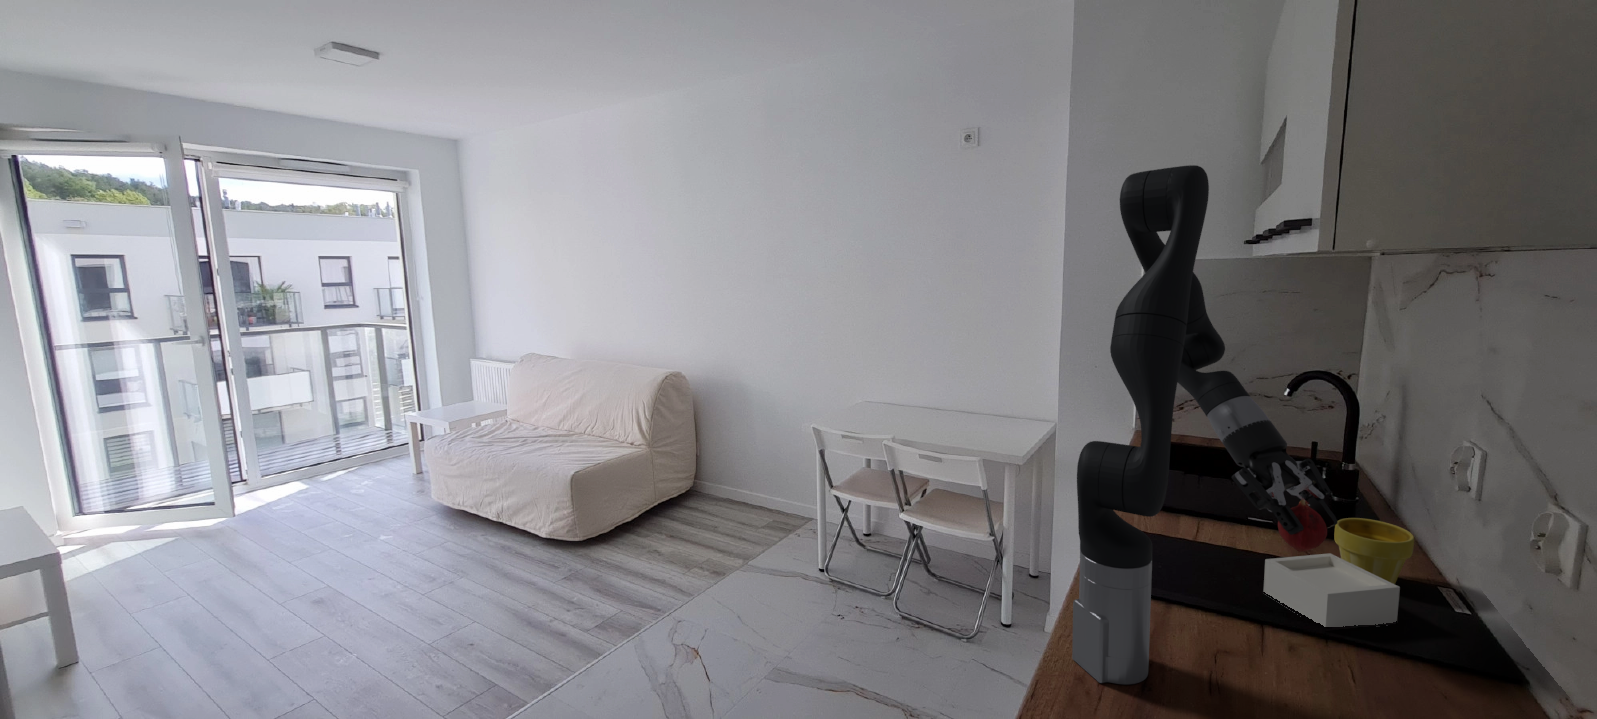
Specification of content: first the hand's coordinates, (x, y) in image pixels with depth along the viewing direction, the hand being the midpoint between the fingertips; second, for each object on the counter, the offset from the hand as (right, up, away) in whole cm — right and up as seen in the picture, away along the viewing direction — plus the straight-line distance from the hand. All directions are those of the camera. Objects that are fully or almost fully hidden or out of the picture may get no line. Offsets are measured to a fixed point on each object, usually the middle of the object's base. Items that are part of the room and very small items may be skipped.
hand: (1314, 528), depth 95 cm
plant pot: (+25, -15, +19) cm, 35 cm away
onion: (0, -4, +2) cm, 5 cm away
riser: (+11, -16, +12) cm, 23 cm away
